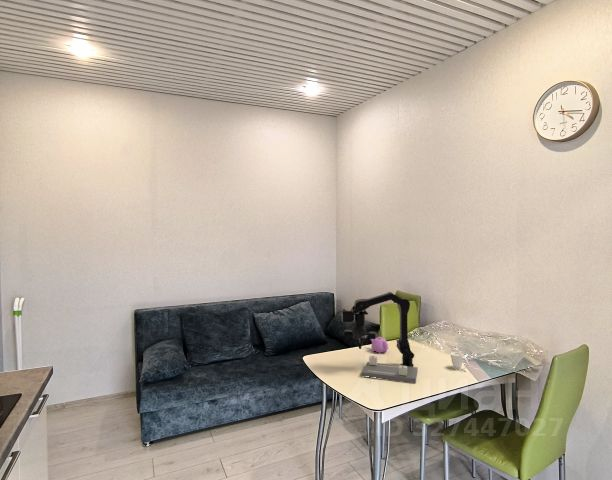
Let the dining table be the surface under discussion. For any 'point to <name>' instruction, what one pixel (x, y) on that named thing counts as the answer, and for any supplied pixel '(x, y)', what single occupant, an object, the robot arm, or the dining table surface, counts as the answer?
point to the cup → (457, 360)
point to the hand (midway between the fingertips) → (360, 348)
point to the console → (390, 372)
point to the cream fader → (373, 360)
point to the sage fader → (402, 370)
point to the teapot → (379, 345)
